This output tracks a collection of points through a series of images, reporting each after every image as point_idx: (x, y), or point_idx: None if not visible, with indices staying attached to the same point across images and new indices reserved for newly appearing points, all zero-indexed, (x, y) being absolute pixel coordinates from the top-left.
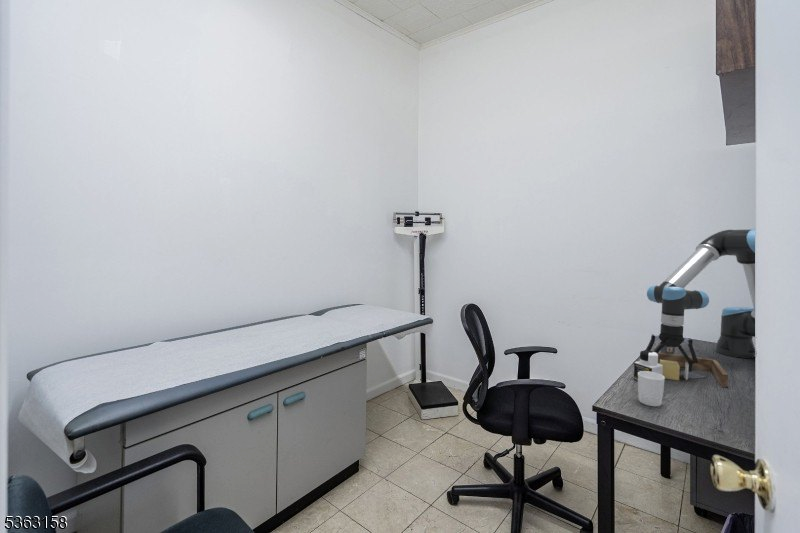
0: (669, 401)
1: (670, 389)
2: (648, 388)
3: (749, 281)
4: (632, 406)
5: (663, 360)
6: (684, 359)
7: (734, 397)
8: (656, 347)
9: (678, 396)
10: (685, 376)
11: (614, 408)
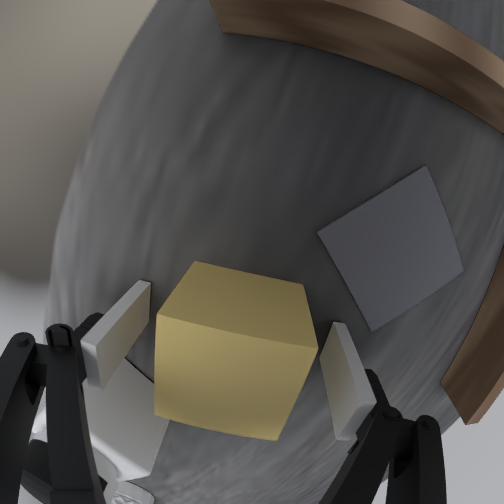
0: (175, 493)
1: (195, 452)
2: None
3: None
4: None
5: (182, 342)
6: (459, 73)
7: None
8: (50, 446)
9: (207, 481)
10: (324, 361)
11: None
